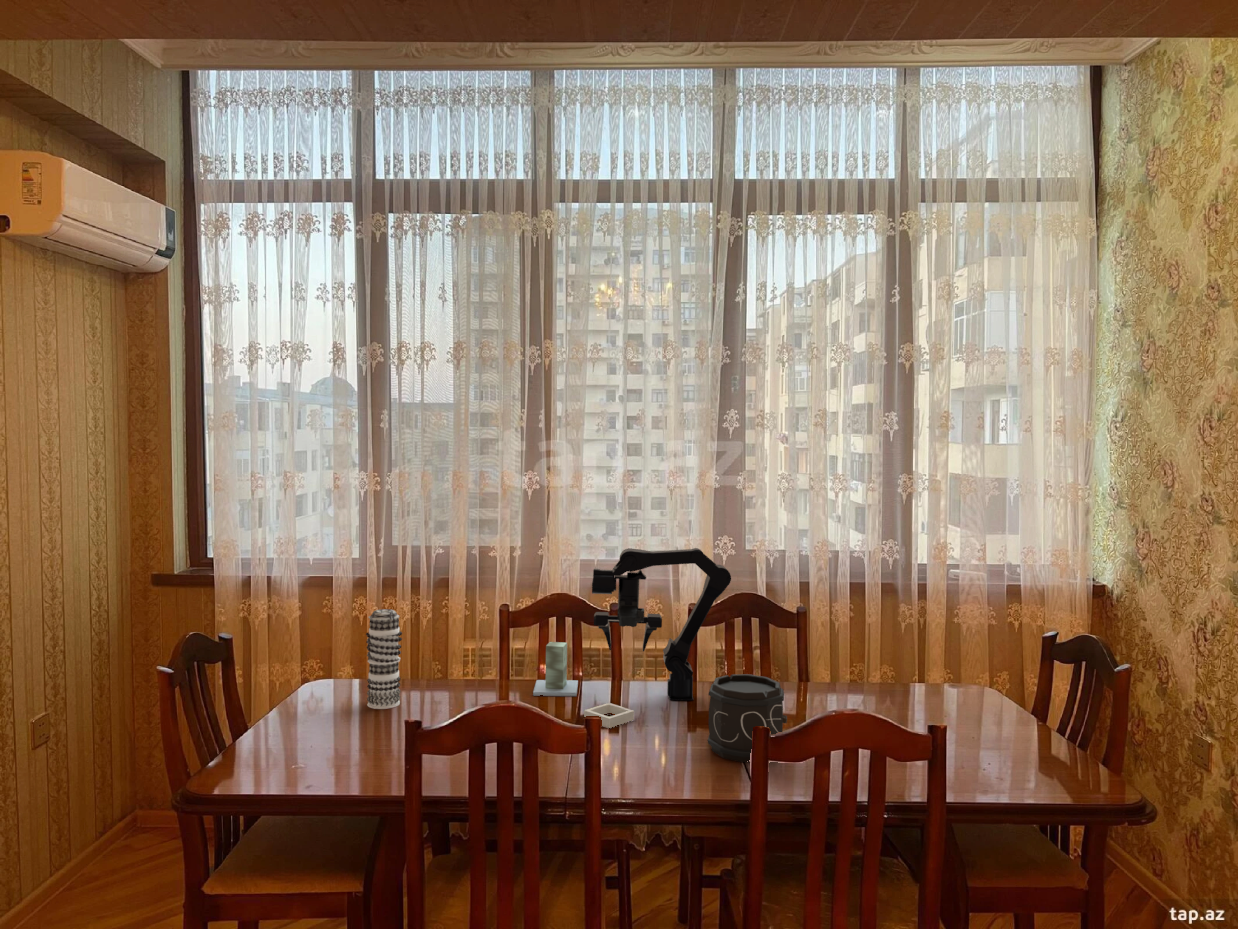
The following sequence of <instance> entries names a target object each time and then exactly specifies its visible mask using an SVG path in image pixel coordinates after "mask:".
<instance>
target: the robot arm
mask: <svg viewBox="0 0 1238 929" xmlns="http://www.w3.org/2000/svg"><path fill="white" fill-rule="evenodd" d="M687 564H689V565H691V564H693V565H696V566H697V567H698V568H699V569H700V570H701V571H703V573H704V574H705V575H706V577H705V579H704V584H703V587H702V590H701V594H700V595H699V598H698V600H697V601H696V603H695V605H694V607H693V609H692V610H691V613H690V614H689V615H688V618H687V619H686V622H685V623H684V625H683V627H682V628H681V630H680V633H679V634H678V636H677V637H676V638H675V639H674V640H673V638H668V641H667V644H666V646H665V647H664V648H663V649H662V651H663V662H664V665H665V668H666V669H667V671H669V672H670V673H669V678H668V679H667V680H666V682H667V683H666V684H667V685H666V694H667V696H668V698H669V700H670V701H694V697H693V694H694V693H693V690H694V689H693V688H694V687H693V686H694V685H693V684H694V676H693V675H694V672H693V669H692V665H691V664H690V662H689V661H688V658H689V655H690V650H691V646H692V644H693V641H695V638H696V636H697V635H698V632H699V631H700V628H701V627H702V625H703V623H704V622H705V619H706V618H707V616H708V614H709V612H710V610H711V608H712V606H713V605H714V602H716V600H717V599H718V598H719V596H721V595H722V594H723V593H724V592H725V590H726V589H727V588H728V586H729V585H730V584H731V582H732V576H731V573H730V572H729V570H728V568H726V566H724V565H722V564H717V563H715V562H714V561H713V560H712V559H711V558H710V557H708V556H707V555H706V554H705V553H704V552H703V551H702V549H700V548H698V547H693V548H686V549H672V550H654V551H652V550H645V549H639V548H625V549H623V550H622V552H621V553H620V554H619V561H618V562H617V563H616V564H615V565H614V566H613V567H612V569H601V568H600V569H599V568H593V570H592V571H593V572H592V580H591V581H592V582H591V594H594V595H595V594H596V595H597V594H600V595H612V594H613V593H614V592H615V591H617V580H618V591H617V592H618V598H617V615H610V614H609V613H610V612H607V611H596V612H595V613H594V615H593V625H594V626H597V628H598V629H599V630H602V631H603V633H604V636H605V639H606V643H607V646H608V650H609V651H612V639H611V638H612V637H611V636H612V635H611V627H610V623H615V624H616V623H617V624H618V625H619V626H620V627H631V628H635V627H637V626H638V624H645V628H644V634H643V635H644V636H643V641H642V652H645V650H646V647H647V644H648V642H649V639H650V637H651V636H652V633H653V632H654V631H657V630H658V629H660V628H661V629H662V626H663V619H662V618H663V617H662V615H661V614H660V613H647V614H646V616H645V608H644V607H639V606H640V603H639V600H640V580H647V576H646V575H645V573H643V571H642V570H645V569H648V568H650V567H656V566H670V565H671V566H672V565H674V566H675V565H687ZM625 573H627V574H625ZM623 574H624V575H623Z"/></svg>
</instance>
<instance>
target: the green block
mask: <svg viewBox="0 0 1238 929" xmlns="http://www.w3.org/2000/svg"><path fill="white" fill-rule="evenodd" d="M567 668H568V642H561V641H560V642H559V641H549V642H548V643H547V644H546V645H545V680H546V684H545V688H552V689H563V688H564V687H565V686H566V684H567V680H568V679H567V678H568V677H567V676H568V675H567V674H568V669H567Z"/></svg>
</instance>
